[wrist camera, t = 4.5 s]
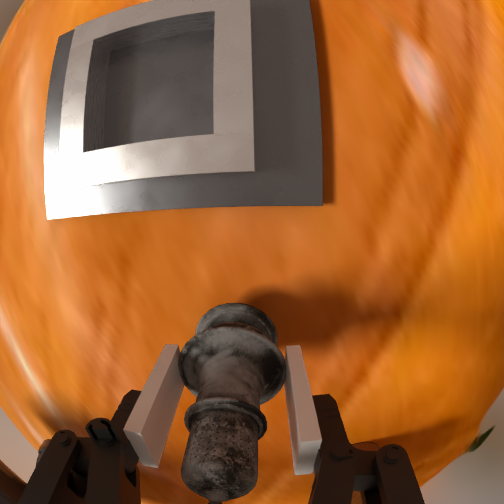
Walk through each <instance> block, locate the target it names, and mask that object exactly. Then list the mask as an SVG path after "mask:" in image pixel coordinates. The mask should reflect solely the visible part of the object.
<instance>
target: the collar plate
mask: <svg viewBox="0 0 504 504" xmlns="http://www.w3.org/2000/svg"><path fill="white" fill-rule="evenodd" d="M44 181H45V199H46V211H47V220H48V219H57V218H66V217H75V216H85V215H96V214H107V213H120V212H133V211H147V210H163V209H182V208H205V207H235V206H323V160H322V128H321V108H320V92H319V79H318V67H317V56H316V47H315V38H314V30H313V22H312V15H311V8H310V1H309V0H152V1H148V2H145V3H141V4H137V5H134V6H131V7H127V8H124V9H121V10H118V11H115V12H112V13H109V14H107V15H104V16H101V17H99V18H96V19H94V20H91V21H89V22H86V23H84V24H82V25H79V26H77V27H75V29H74V30H72V31H70V32H67V33H65V34H63V35H61V36H59V38H58V43H57V47H56V51H55V56H54V61H53V66H52V71H51V77H50V84H49V91H48V99H47V108H46V120H45V137H44Z"/></svg>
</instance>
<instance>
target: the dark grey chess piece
mask: <svg viewBox="0 0 504 504" xmlns="http://www.w3.org/2000/svg"><path fill="white" fill-rule="evenodd" d="M178 367H179V372H180V376H181V378H182V380H183V382H184V384H185V386H186V387H187V388H188V389H189V390H190V391H191V392H192V394H194V395H195V396H196V397H197V399H196V403H194V404H193V405H191V406H190V407H189V408H188V410H187V411H186V413H185V418H184V421H185V426H186V427H187V429H188V431H189V432H190V434H189V438H188V442H187V446H186V451H185V455H184V459H183V463H182V467H181V477H182V479H183V481H184V483H185V484H186V486H187V487H188V488H189V489H191V490H192V491H193V492H195V493H197V494H198V495H200V496H203V497H205V498H206V499H208V500H209V501H210V502H209V503H208V504H222V502H223V501H228V500H231V499H235V498H239V497H241V496H244V495H246V494H248V493H249V492H250V491H251V490H252V489H253V488H254V487H255V485H256V482H257V478H258V440H259V439H260V438H261V437H262V436H263V435H264V434H265V432H266V430H267V421H266V418H265V416H264V414H263V413H262V412H261V411H260V405H261V404H264V403H265V402H267V401H269V400H270V399H272V398H273V397H274V396H275V395H276V394H277V393H278V392H279V391H280V390H281V388H282V386H283V384H284V382H285V380H286V363H285V359H284V356H283V354H282V353H281V351H280V350H279V348H278V347H277V332H276V329H275V326H274V324H273V323H272V321H271V319H270V318H269V317H268V316H267V315H266V314H265V313H264V312H262V311H261V310H259V309H257V308H255V307H253V306H250V305H247V304H243V303H227V304H222V305H218V306H216V307H214V308H212V309H210V310H209V311H208V312H207V313H206V314H204V315H203V316H202V318H201V319H200V321H199V323H198V325H197V328H196V333H195V336H194V337H193V338H191V339H190V340H189V341H188V342H187V343H186V344H185V346H184V347H183V349H182V351H181V353H180V356H179V362H178Z"/></svg>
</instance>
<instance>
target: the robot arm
mask: <svg viewBox="0 0 504 504" xmlns="http://www.w3.org/2000/svg"><path fill="white" fill-rule="evenodd" d="M179 356H180V350H179V345H171V344H166V345H165V346H164V348H163V350H162V352H161V354H160V356H159V358H158V360H157V362H156V364H155V366H154V368H153V370H152V372H151V374H150V376H149V378H148V380H147V382H146V384H145V386H144V388H143V390H142V391H137V390H131V391H129V392H128V393H127V394H126V395H125V396H124V397H123V399H122V401H121V404H120V405H119V407H118V410H116V412H115V414H114V416H113V418H112V420H111V421H110V420H108V419H106V418H96V419H93V420H91V421H90V422H89V423H88V424H87V425H86V428H85V429H86V430H87V432H88V434H89V435H90V437H91V438H81V437H77V436H76V435H75V433H74V432H72V431H70V430H60V431H58V432H57V433H56V434H55V435H54V436H53V437H52V439H51V440H45V441H44V442H43V443H42V445H41V446H40V448H39V451H38V453H39V455H38V458H37V462H36V468H35V470H34V472H33V474H32V476H31V477H30V480H29V482H28V483H25V482H24V481H23V480H22V479H21V478H20V477H18V476H17V475H16V474H15V473H14V472H13V471H11V469H9V468H8V467H7V466H6V465H5V464H4V463H3V462H2V461H1V460H0V504H141V499H140V482H139V470H138V467H137V463H138V460H140V462H141V463H142V465H145V466H150V467H155V468H158V467H159V463H160V460H161V457H162V454H163V450H164V447H165V444H166V441H167V438H168V434H169V431H170V428H171V425H172V422H173V419H174V415H175V412H176V409H177V406H178V403H179V400H180V397H181V394H182V391H183V388H184V385H185V384H184V382H183V380H182V378H181V376H180V372H179V367H178V362H179ZM285 363H286V380H285V382H284V386H285V395H286V403H287V412H288V420H289V429H290V438H291V447H292V456H293V465H294V475H303V474H312V473H313V470H314V472H315V479H314V482H313V485H312V491H311V495H310V499H309V502H308V504H351V501H352V494H353V491H360V494H361V499H362V504H425V503H424V500H423V497H422V494H421V491H420V488H419V485H418V482H417V479H416V476H415V473H414V471H413V468H412V465H411V463H410V460H409V457H408V455H407V452H406V451H405V449H404V448H402V447H401V446H399V445H395V444H389V445H386V446H383V447H382V448H380V449H379V450H378V451H365V450H360V449H357V448H355V447H354V446H353V445H351V444H350V443H349V441H348V438H347V435H346V432H345V428H344V425H343V422H342V419H341V417H340V413H339V410H338V406H337V403H336V401H335V399H334V398H333V397H332V396H331V395H330V394H325V395H314V396H312V393H311V389H310V385H309V380H308V376H307V372H306V368H305V364H304V360H303V355H302V351H301V347H300V345H294V346H286V356H285Z"/></svg>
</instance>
